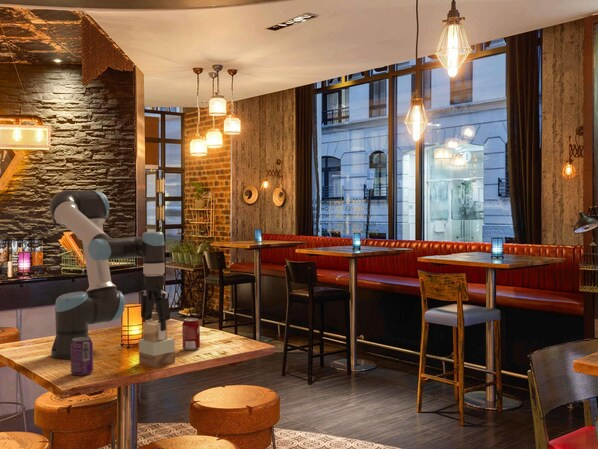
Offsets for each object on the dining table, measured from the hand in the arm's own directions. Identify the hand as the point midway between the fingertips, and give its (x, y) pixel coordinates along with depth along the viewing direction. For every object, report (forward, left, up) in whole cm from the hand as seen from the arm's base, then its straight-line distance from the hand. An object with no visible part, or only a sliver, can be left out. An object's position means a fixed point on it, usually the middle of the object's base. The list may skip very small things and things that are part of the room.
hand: (155, 338), depth 225 cm
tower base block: (0, 0, -9) cm, 9 cm away
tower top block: (0, 0, -5) cm, 5 cm away
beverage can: (-20, -16, -9) cm, 27 cm away
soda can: (+7, +22, -9) cm, 25 cm away
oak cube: (0, 0, 0) cm, 0 cm away
